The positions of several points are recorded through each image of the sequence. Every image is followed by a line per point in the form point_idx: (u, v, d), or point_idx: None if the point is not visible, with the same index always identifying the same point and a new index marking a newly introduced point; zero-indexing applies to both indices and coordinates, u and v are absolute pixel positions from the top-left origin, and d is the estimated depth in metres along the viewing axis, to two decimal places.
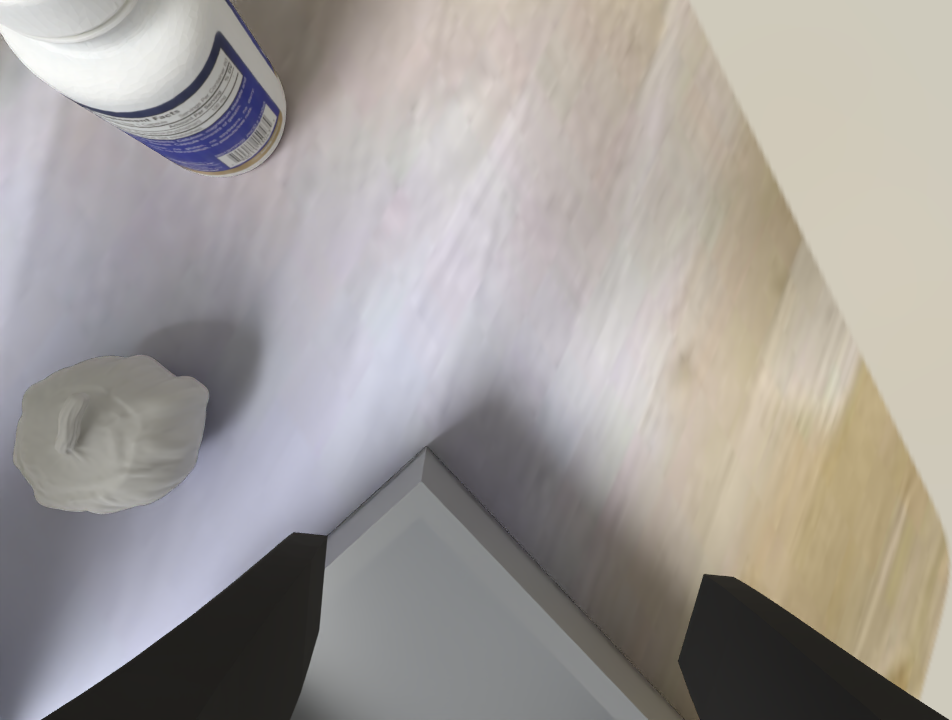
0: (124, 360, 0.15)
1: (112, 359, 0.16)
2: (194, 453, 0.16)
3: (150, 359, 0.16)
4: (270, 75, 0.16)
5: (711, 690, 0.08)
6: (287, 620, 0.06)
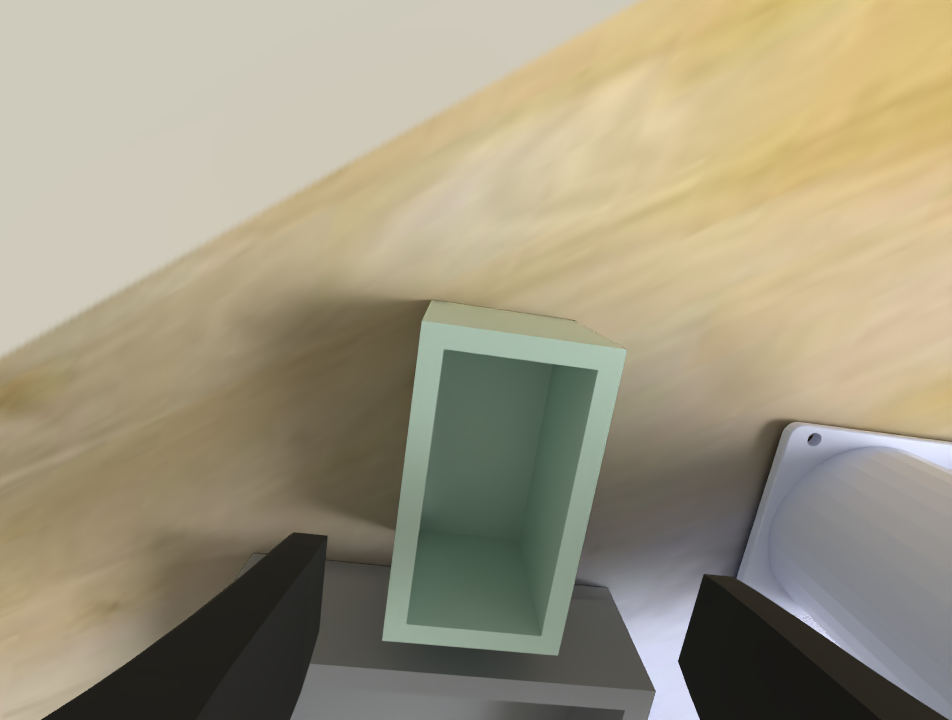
0: None
1: None
2: None
3: None
4: None
5: (711, 690, 0.08)
6: (287, 620, 0.06)
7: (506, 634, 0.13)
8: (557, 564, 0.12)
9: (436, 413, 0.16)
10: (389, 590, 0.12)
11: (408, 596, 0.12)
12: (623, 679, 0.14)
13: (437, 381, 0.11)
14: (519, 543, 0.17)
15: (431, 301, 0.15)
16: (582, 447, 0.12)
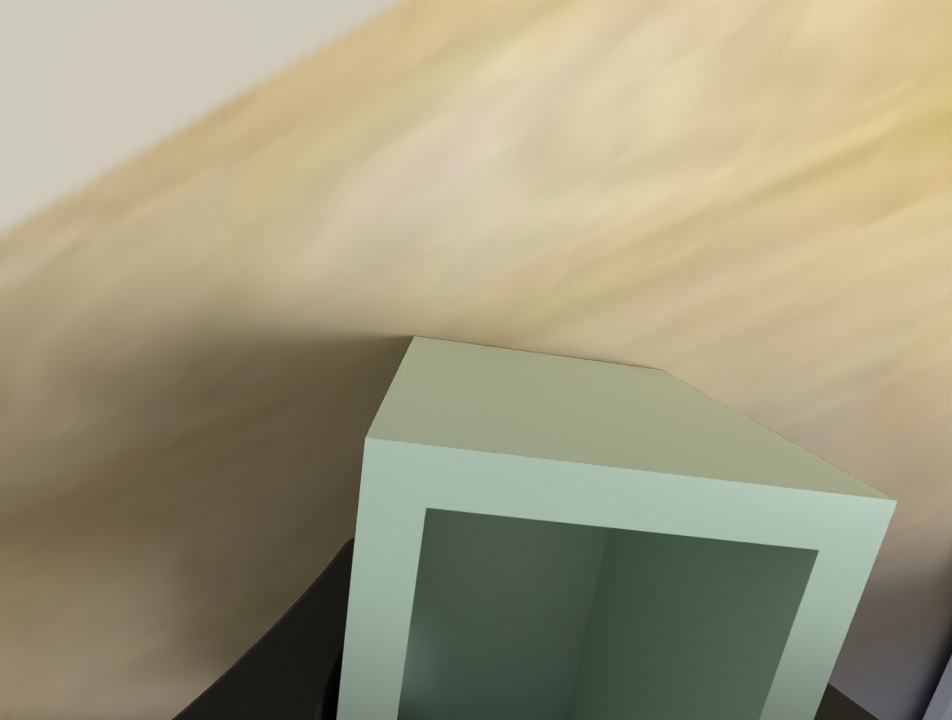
0: None
1: None
2: None
3: None
4: None
5: None
6: None
7: None
8: None
9: (423, 533, 0.09)
10: None
11: None
12: None
13: (410, 584, 0.04)
14: None
15: (412, 341, 0.08)
16: (759, 717, 0.05)
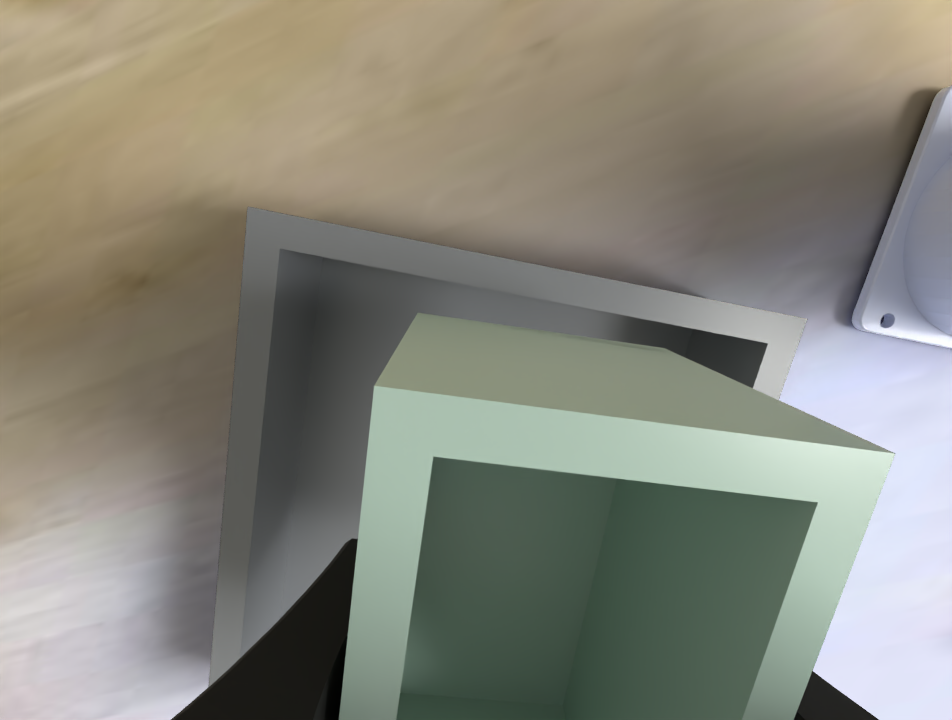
0: None
1: None
2: None
3: None
4: None
5: None
6: None
7: None
8: None
9: (426, 508, 0.09)
10: None
11: None
12: None
13: (417, 533, 0.04)
14: (563, 712, 0.10)
15: (416, 316, 0.08)
16: (758, 670, 0.05)
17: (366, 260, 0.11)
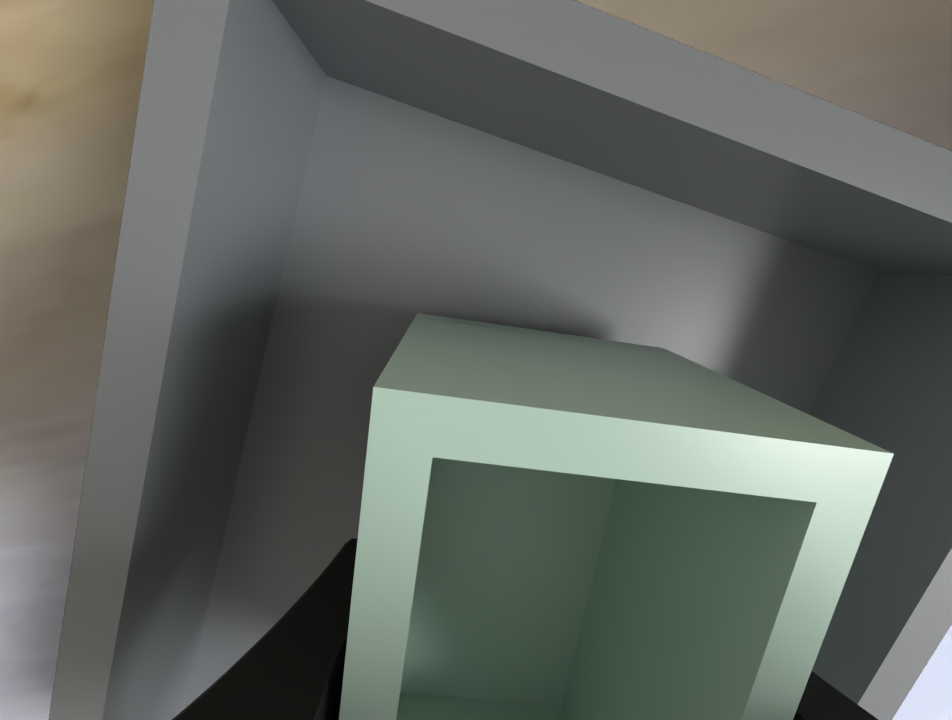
0: None
1: None
2: None
3: None
4: None
5: None
6: None
7: None
8: None
9: (426, 509, 0.09)
10: None
11: None
12: None
13: (417, 534, 0.04)
14: (563, 712, 0.10)
15: (416, 317, 0.08)
16: (758, 670, 0.05)
17: (413, 5, 0.05)
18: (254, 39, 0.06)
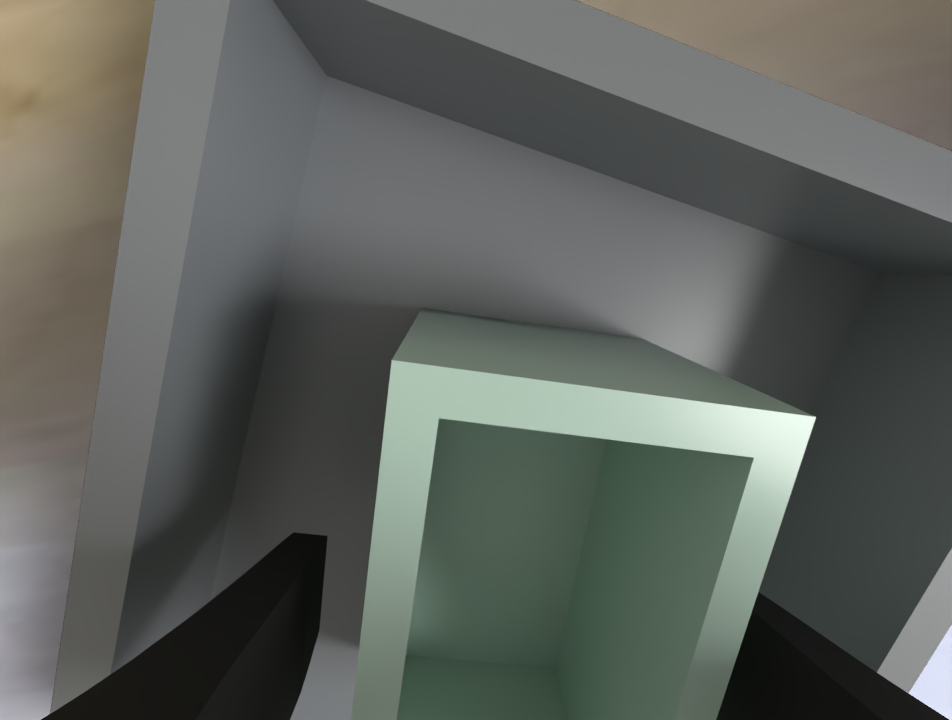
0: None
1: None
2: None
3: None
4: None
5: None
6: (287, 620, 0.06)
7: None
8: None
9: (429, 485, 0.10)
10: None
11: None
12: None
13: (425, 482, 0.05)
14: (555, 673, 0.11)
15: (421, 310, 0.09)
16: (710, 601, 0.06)
17: (414, 5, 0.05)
18: (255, 39, 0.06)
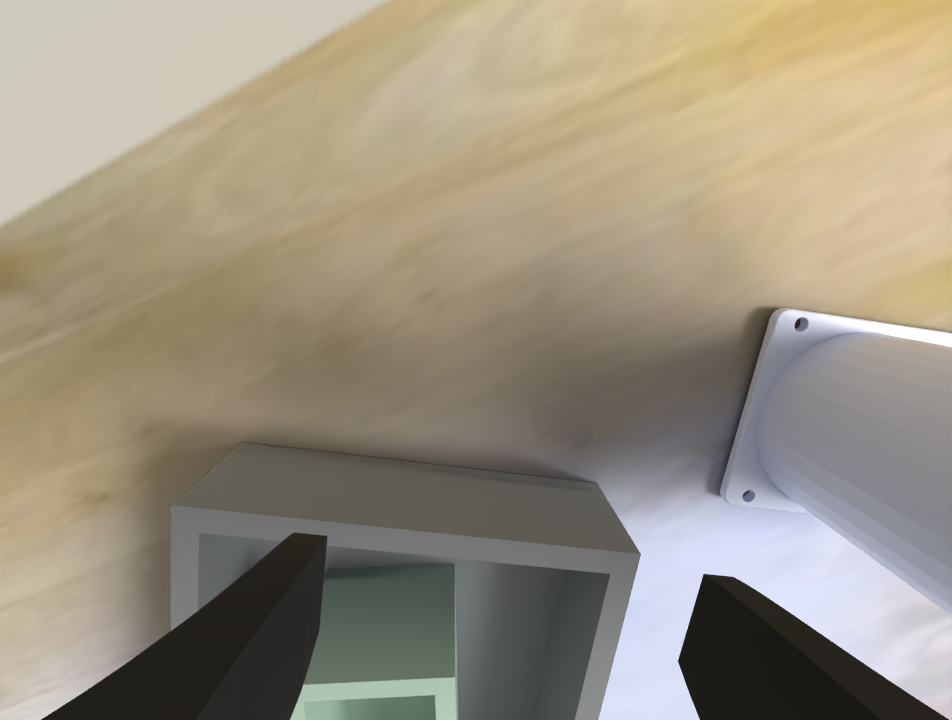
0: None
1: None
2: None
3: None
4: None
5: (711, 690, 0.08)
6: (287, 620, 0.06)
7: None
8: None
9: None
10: None
11: None
12: (608, 544, 0.14)
13: None
14: None
15: None
16: None
17: (270, 537, 0.13)
18: (211, 536, 0.14)
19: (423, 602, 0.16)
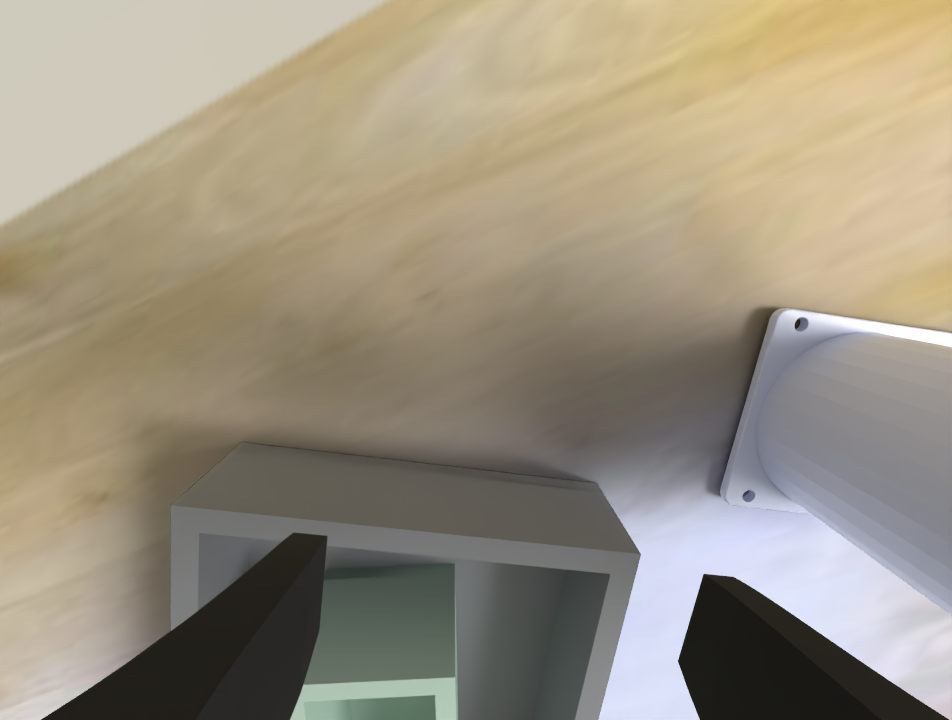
0: None
1: None
2: None
3: None
4: None
5: (711, 690, 0.08)
6: (287, 620, 0.06)
7: None
8: None
9: None
10: None
11: None
12: (608, 544, 0.14)
13: None
14: None
15: None
16: None
17: (270, 537, 0.13)
18: (211, 536, 0.14)
19: (423, 602, 0.16)
